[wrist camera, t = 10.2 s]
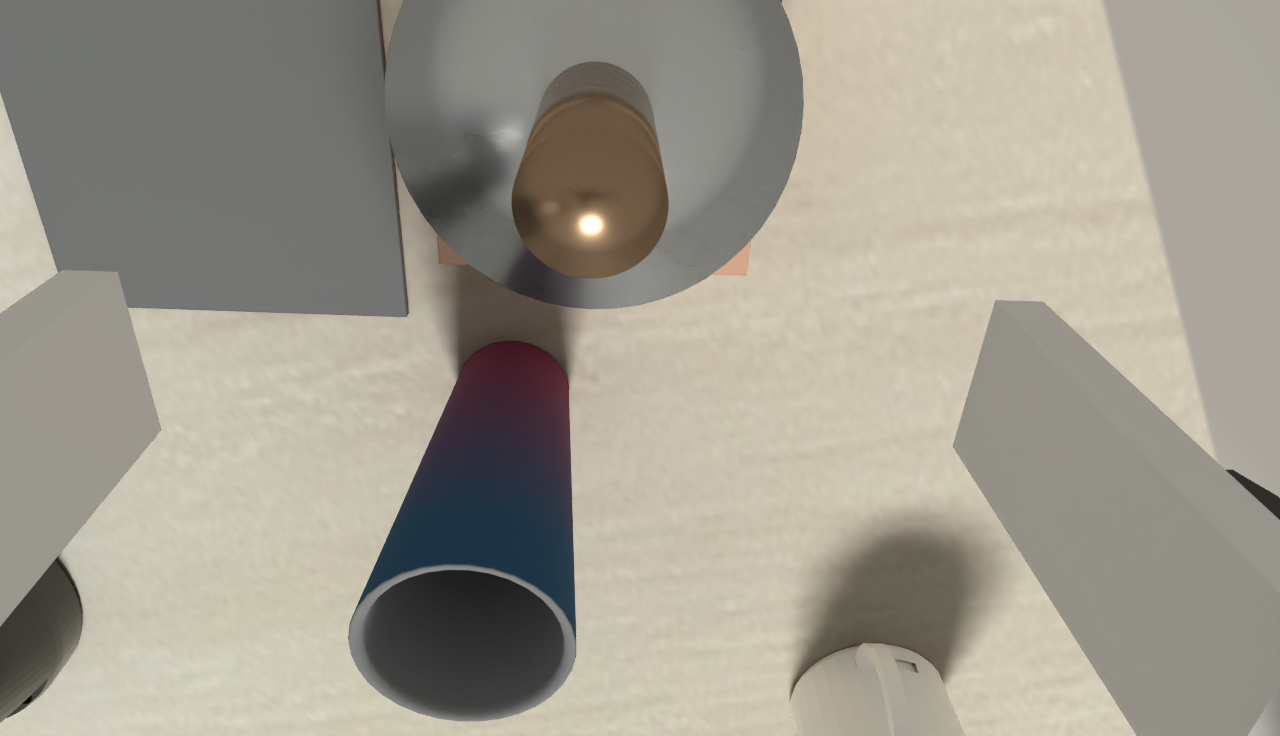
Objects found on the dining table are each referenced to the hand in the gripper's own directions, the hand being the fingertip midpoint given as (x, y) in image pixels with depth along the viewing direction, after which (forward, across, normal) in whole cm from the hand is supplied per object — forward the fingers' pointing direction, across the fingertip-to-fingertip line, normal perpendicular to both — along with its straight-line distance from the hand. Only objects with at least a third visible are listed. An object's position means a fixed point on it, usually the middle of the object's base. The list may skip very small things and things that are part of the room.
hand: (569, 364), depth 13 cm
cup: (+22, -3, -14) cm, 26 cm away
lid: (+16, 0, 0) cm, 16 cm away
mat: (+22, -14, -3) cm, 26 cm away
